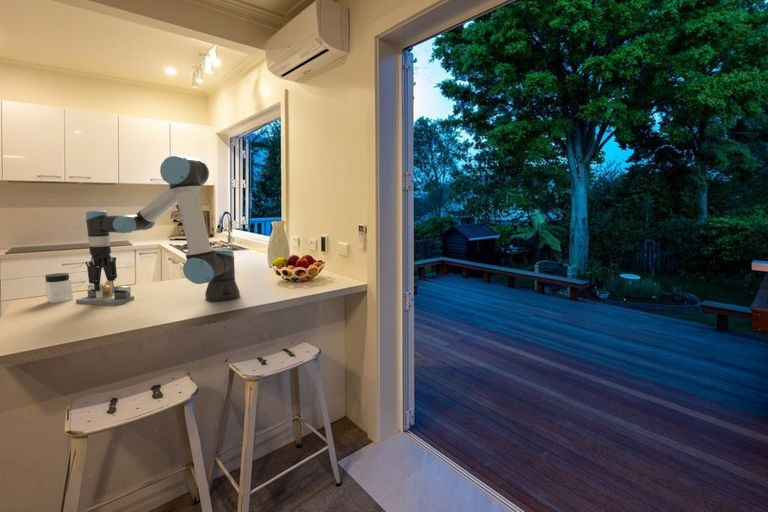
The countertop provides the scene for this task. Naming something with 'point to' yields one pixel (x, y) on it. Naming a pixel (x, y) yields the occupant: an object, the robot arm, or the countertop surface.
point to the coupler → (106, 291)
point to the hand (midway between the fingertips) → (105, 296)
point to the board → (103, 300)
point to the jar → (58, 287)
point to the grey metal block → (121, 292)
